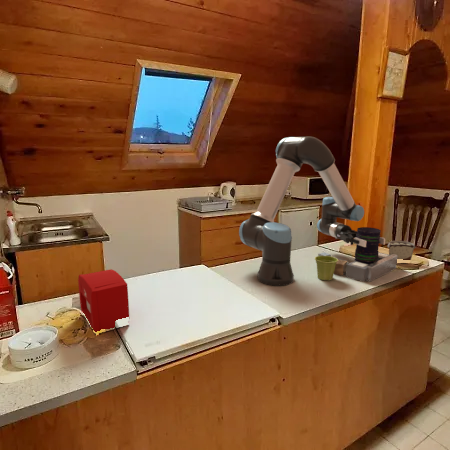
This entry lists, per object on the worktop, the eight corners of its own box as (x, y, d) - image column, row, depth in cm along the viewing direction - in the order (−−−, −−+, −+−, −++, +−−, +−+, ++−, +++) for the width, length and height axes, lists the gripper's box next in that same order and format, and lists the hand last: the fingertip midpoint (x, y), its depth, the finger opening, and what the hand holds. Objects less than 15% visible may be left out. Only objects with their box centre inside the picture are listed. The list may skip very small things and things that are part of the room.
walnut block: (331, 273, 153) (331, 262, 152) (335, 269, 158) (335, 259, 156) (342, 275, 150) (343, 264, 149) (346, 271, 155) (347, 261, 154)
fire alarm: (81, 315, 114) (76, 272, 110) (113, 307, 120) (110, 266, 116) (94, 337, 101) (90, 289, 97) (130, 326, 107) (127, 281, 103)
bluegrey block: (317, 265, 162) (318, 253, 161) (323, 264, 164) (324, 252, 163) (323, 268, 159) (324, 255, 158) (330, 266, 161) (330, 254, 160)
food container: (407, 260, 171) (410, 240, 168) (413, 264, 165) (415, 244, 162) (382, 259, 172) (384, 240, 170) (386, 263, 166) (388, 243, 164)
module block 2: (367, 266, 162) (369, 254, 160) (375, 262, 167) (377, 251, 165) (384, 270, 156) (386, 258, 154) (392, 266, 161) (393, 255, 160)
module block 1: (345, 276, 149) (346, 263, 147) (353, 272, 153) (354, 260, 152) (363, 281, 143) (364, 268, 142) (371, 277, 147) (372, 264, 146)
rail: (365, 280, 144) (367, 265, 143) (391, 267, 160) (393, 254, 159) (370, 281, 143) (371, 267, 141) (396, 268, 159) (397, 255, 157)
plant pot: (308, 277, 148) (310, 258, 146) (322, 272, 153) (324, 254, 151) (327, 284, 140) (328, 263, 138) (340, 279, 146) (342, 259, 144)
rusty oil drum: (357, 256, 162) (360, 226, 159) (379, 260, 157) (383, 229, 153) (351, 262, 154) (354, 230, 151) (374, 266, 149) (378, 233, 145)
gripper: (358, 236, 174) (393, 248, 154) (321, 241, 166) (353, 254, 146) (359, 222, 173) (395, 232, 152) (322, 225, 165) (355, 237, 144)
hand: (375, 242), depth 149 cm, fingers closed on rusty oil drum, 10 cm apart
